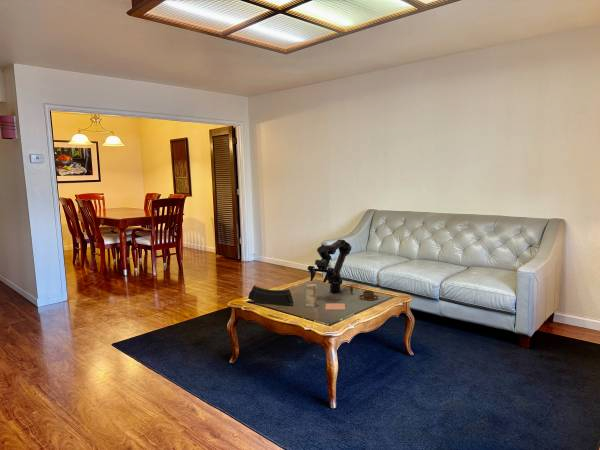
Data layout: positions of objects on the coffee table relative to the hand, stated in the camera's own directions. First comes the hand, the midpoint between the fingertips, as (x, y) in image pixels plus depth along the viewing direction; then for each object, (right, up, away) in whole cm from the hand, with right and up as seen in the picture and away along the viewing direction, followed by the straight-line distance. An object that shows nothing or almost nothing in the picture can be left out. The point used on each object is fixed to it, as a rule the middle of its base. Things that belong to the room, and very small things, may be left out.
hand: (317, 281), depth 265 cm
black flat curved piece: (-30, -14, 0) cm, 33 cm away
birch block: (-4, -14, -5) cm, 16 cm away
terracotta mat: (+11, -14, -10) cm, 20 cm away
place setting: (+33, -12, +11) cm, 37 cm away
